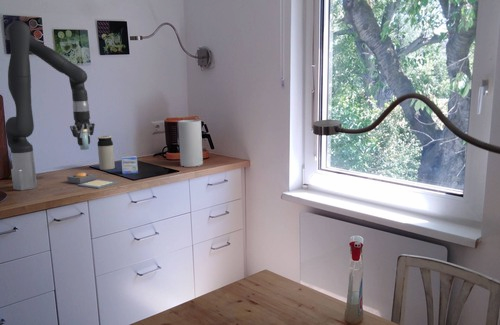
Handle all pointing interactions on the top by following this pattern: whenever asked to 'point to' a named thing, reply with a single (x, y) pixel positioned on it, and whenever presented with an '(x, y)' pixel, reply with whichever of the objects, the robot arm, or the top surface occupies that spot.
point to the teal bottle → (84, 140)
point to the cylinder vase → (190, 143)
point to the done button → (80, 174)
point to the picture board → (97, 183)
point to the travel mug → (106, 153)
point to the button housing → (80, 179)
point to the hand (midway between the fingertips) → (84, 144)
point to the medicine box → (129, 165)
